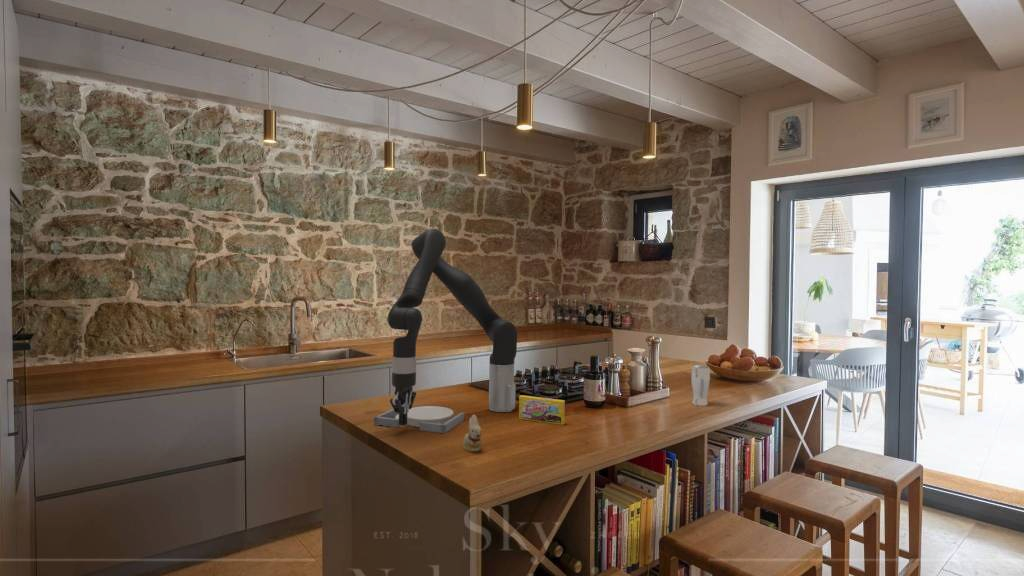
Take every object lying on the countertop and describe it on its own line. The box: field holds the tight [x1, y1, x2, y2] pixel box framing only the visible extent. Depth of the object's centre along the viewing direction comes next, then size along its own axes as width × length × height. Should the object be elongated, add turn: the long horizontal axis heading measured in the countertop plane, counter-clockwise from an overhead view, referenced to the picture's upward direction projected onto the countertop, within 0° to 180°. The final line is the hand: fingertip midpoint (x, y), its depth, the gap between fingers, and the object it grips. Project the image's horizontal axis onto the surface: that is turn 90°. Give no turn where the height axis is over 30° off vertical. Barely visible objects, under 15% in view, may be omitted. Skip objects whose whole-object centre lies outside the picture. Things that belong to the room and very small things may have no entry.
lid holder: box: [373, 408, 465, 434], centre depth 180 cm, size 25×16×2 cm, turn 72°
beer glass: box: [690, 364, 711, 407], centre depth 212 cm, size 7×7×15 cm
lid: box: [394, 405, 454, 428], centre depth 183 cm, size 17×20×3 cm
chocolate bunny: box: [462, 414, 482, 453], centre depth 155 cm, size 6×8×10 cm
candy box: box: [518, 394, 566, 425], centre depth 184 cm, size 16×2×8 cm, turn 68°
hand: (403, 424), depth 170 cm, fingers closed
